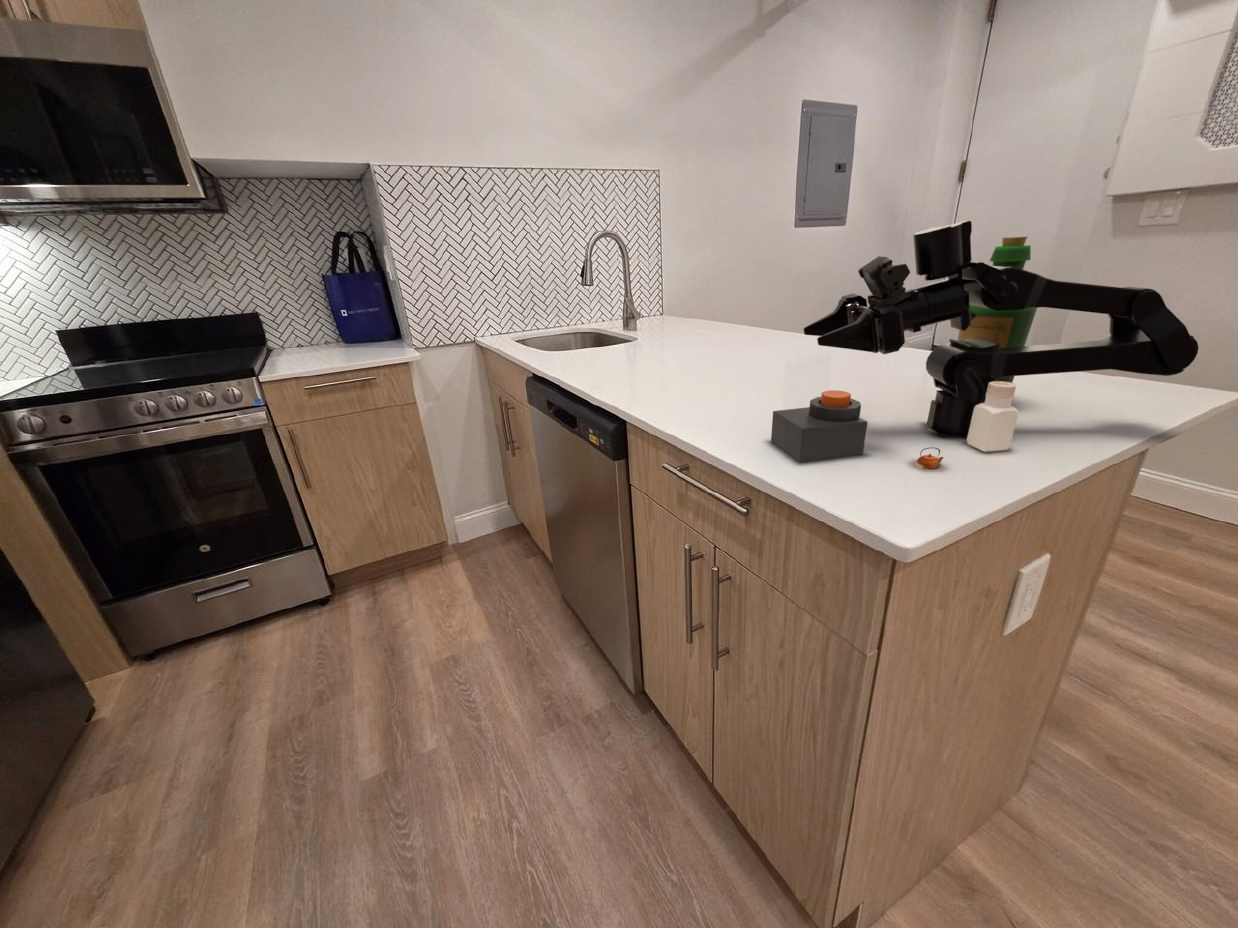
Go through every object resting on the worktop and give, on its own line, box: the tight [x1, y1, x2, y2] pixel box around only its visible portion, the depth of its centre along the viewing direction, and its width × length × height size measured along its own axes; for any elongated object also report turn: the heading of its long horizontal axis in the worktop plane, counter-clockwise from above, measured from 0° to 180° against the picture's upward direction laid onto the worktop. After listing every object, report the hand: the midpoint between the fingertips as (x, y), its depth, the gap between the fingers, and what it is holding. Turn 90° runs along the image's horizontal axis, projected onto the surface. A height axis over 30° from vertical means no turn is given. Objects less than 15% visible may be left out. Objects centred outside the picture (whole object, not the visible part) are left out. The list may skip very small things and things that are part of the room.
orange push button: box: [820, 389, 852, 407], centre depth 74 cm, size 4×4×2 cm
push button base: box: [770, 396, 868, 464], centre depth 75 cm, size 11×9×7 cm
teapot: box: [915, 447, 945, 470], centre depth 68 cm, size 3×3×3 cm
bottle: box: [957, 236, 1038, 383], centre depth 88 cm, size 11×11×28 cm
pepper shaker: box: [966, 381, 1019, 453], centre depth 72 cm, size 4×4×10 cm
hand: (810, 336), depth 77 cm, fingers open, 9 cm apart
